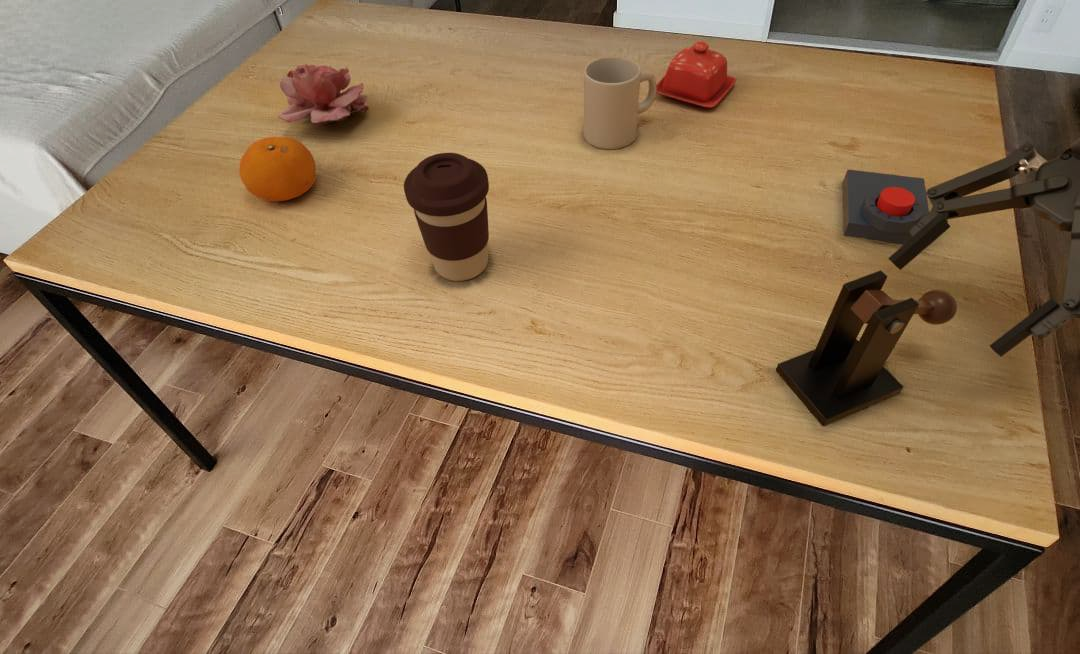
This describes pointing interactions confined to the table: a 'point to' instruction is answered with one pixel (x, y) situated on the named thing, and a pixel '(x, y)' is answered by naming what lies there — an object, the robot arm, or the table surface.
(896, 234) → the button block
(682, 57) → the butter dish
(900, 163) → the table surface
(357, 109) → the flower
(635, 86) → the mug
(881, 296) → the lever
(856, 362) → the bracket
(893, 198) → the button
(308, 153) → the fruit
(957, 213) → the robot arm
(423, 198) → the coffee cup
